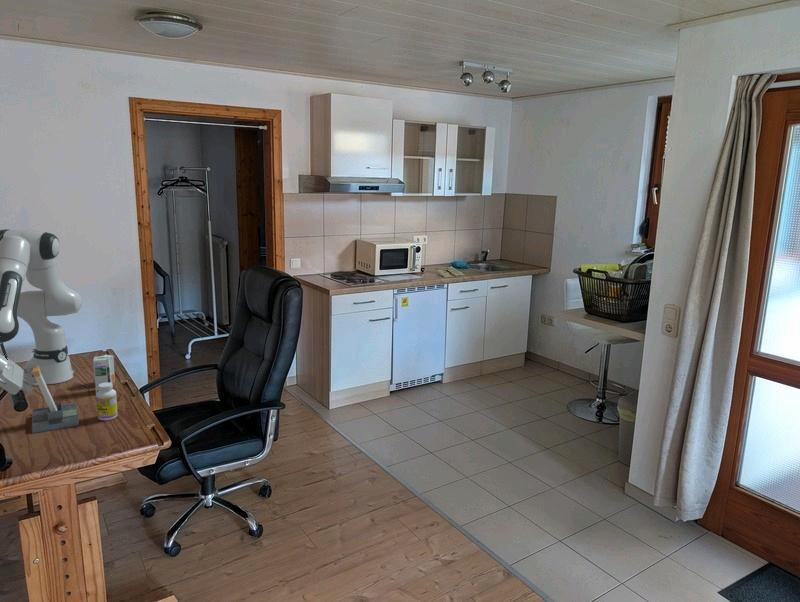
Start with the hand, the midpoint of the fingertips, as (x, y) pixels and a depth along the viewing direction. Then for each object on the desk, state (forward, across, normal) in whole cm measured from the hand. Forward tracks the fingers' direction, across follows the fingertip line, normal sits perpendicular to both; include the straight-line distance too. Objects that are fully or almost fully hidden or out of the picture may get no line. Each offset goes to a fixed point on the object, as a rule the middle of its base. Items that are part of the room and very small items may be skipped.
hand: (31, 390), depth 201 cm
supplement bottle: (+25, -5, -7) cm, 27 cm away
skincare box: (+27, +33, -9) cm, 44 cm away
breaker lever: (+11, 0, +2) cm, 11 cm away
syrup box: (+26, +24, -8) cm, 36 cm away
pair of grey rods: (+13, +11, +5) cm, 18 cm away
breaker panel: (+13, 0, +5) cm, 14 cm away
